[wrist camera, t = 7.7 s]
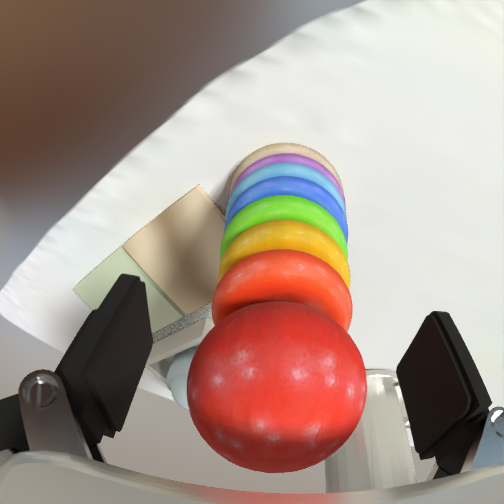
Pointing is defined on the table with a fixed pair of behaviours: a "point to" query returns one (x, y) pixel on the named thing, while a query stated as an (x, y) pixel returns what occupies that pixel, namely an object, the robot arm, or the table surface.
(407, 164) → the table surface
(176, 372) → the dome
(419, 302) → the table surface
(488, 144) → the table surface
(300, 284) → the stacking toy
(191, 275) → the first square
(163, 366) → the popper housing
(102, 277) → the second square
